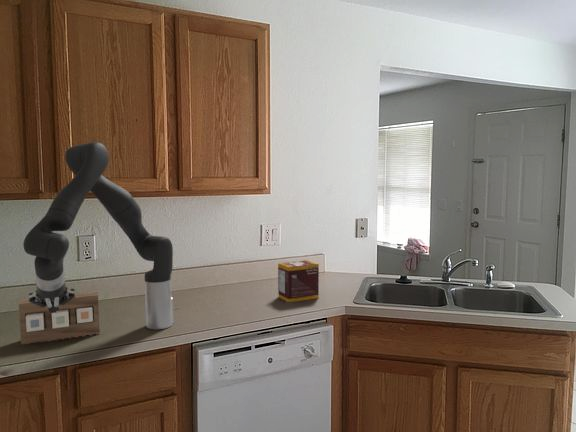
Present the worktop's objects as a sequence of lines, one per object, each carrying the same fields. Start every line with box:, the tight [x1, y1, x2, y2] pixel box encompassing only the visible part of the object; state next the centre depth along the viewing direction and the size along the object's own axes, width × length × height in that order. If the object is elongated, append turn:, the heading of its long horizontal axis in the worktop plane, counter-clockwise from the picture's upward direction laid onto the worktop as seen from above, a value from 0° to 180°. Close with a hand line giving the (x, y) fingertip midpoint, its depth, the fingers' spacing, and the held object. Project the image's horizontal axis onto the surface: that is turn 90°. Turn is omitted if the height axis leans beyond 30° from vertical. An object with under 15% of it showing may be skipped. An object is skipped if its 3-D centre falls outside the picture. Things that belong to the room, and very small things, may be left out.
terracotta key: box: [76, 306, 93, 323], centre depth 161 cm, size 5×5×5 cm
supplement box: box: [277, 259, 320, 303], centre depth 206 cm, size 10×15×16 cm
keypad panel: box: [18, 291, 101, 345], centre depth 159 cm, size 6×24×15 cm, turn 115°
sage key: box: [52, 309, 69, 328], centre depth 156 cm, size 5×5×5 cm
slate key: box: [26, 312, 45, 332], centre depth 153 cm, size 5×5×5 cm
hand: (53, 310), depth 145 cm, fingers closed
